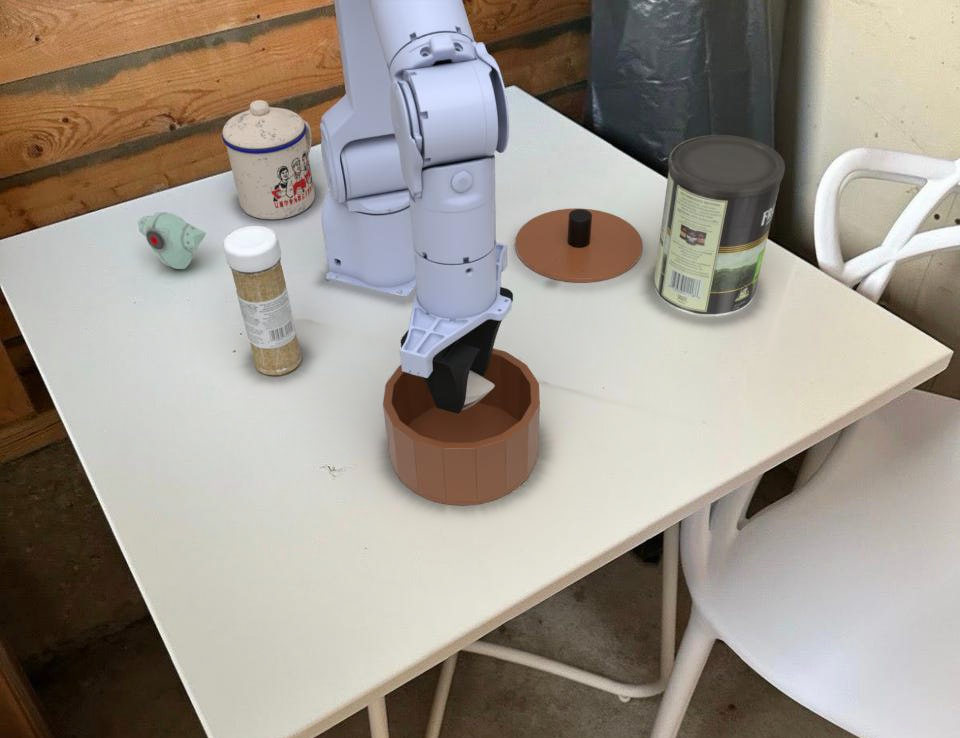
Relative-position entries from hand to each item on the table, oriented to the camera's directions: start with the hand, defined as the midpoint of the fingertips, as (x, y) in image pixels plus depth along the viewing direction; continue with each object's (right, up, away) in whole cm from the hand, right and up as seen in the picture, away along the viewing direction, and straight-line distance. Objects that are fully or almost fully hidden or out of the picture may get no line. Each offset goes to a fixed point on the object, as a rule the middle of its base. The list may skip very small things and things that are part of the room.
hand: (461, 389), depth 74 cm
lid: (+12, +17, +25) cm, 33 cm away
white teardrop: (0, -1, +1) cm, 2 cm away
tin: (0, -5, +5) cm, 7 cm away
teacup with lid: (-21, +25, +35) cm, 48 cm away
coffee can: (+24, +12, +20) cm, 33 cm away
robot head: (-30, +15, +25) cm, 42 cm away
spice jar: (-18, +4, +14) cm, 23 cm away
